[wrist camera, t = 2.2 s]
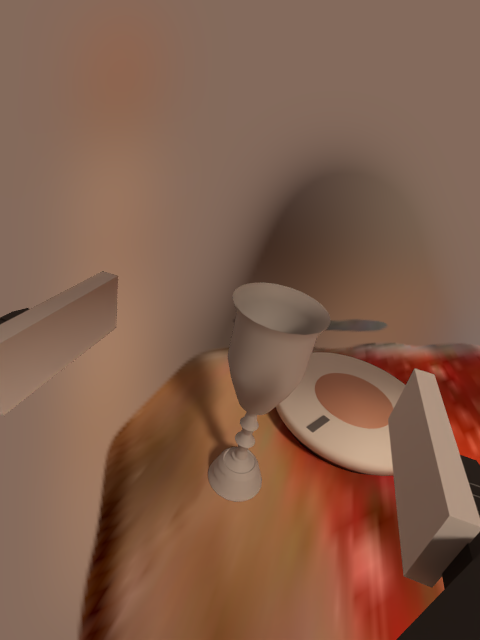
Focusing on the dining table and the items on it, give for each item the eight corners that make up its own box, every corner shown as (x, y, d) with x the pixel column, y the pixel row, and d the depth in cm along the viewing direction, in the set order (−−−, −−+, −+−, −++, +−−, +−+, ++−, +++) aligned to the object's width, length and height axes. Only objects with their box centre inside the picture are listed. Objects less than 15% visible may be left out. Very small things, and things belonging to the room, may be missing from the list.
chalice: (190, 449, 36) (219, 281, 27) (255, 440, 39) (300, 283, 30) (209, 521, 30) (254, 336, 22) (284, 505, 33) (351, 333, 24)
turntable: (329, 347, 54) (332, 338, 53) (453, 425, 44) (459, 415, 43) (241, 391, 42) (243, 380, 41) (383, 511, 32) (390, 500, 31)
